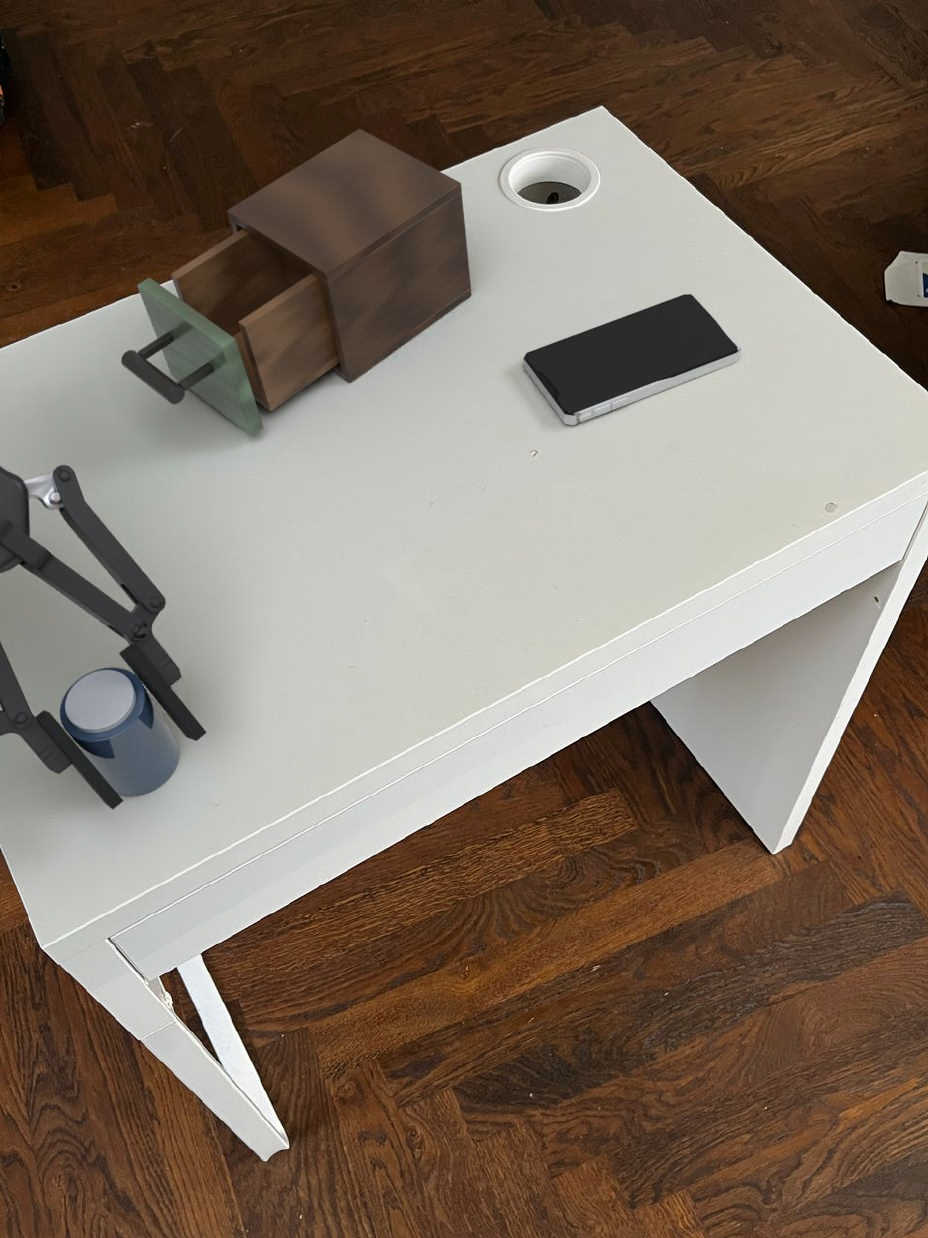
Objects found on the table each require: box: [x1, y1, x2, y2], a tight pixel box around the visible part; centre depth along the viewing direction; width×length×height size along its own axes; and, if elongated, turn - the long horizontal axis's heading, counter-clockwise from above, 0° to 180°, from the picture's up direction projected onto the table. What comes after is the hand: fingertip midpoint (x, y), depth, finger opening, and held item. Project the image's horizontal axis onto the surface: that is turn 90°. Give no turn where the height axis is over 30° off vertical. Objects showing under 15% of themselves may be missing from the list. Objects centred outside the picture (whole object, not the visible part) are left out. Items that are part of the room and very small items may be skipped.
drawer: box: [120, 229, 340, 437], centre depth 87 cm, size 17×10×9 cm, turn 135°
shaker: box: [59, 666, 180, 797], centre depth 69 cm, size 5×5×8 cm
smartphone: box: [522, 293, 742, 426], centre depth 88 cm, size 8×1×15 cm
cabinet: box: [226, 128, 472, 384], centre depth 91 cm, size 14×12×11 cm
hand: (155, 767), depth 67 cm, fingers open, 5 cm apart
